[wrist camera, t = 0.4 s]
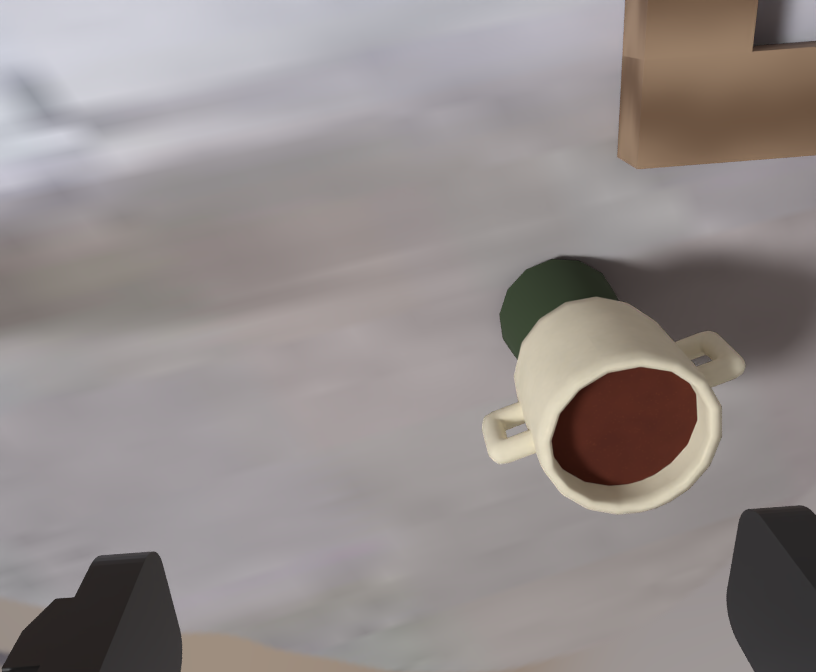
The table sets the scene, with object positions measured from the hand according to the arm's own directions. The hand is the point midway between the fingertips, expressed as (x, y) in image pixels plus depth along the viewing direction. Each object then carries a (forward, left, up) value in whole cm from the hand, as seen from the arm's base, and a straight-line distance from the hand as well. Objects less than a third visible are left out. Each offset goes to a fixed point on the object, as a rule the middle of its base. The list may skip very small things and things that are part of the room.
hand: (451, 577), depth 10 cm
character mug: (+8, +8, -28) cm, 31 cm away
